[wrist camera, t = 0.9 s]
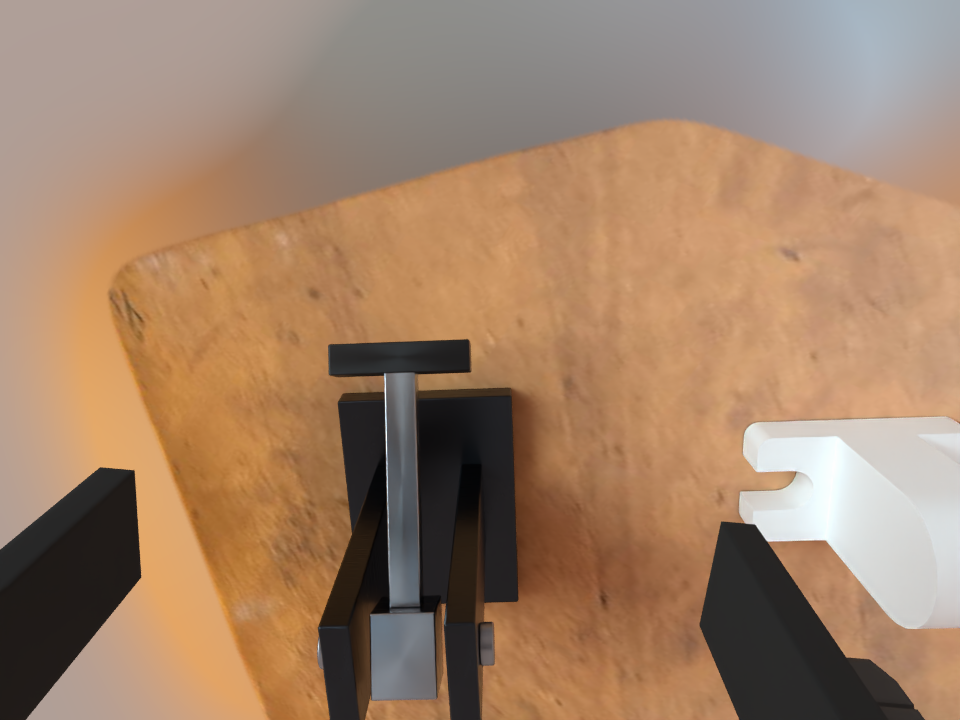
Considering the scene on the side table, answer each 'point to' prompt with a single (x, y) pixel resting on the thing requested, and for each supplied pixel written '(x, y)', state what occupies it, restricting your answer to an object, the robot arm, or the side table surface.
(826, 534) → the cable organizer
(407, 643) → the press lever
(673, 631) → the side table surface
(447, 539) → the lever bracket
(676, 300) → the side table surface
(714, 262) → the side table surface
